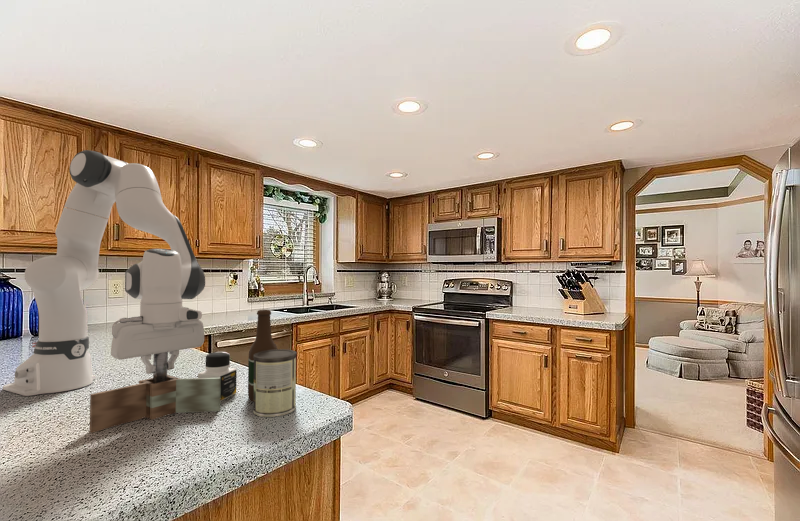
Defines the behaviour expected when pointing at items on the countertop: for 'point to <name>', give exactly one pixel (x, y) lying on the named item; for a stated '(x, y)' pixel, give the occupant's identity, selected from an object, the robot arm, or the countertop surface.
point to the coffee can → (274, 382)
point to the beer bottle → (259, 346)
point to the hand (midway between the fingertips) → (160, 371)
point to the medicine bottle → (221, 372)
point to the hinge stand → (153, 400)
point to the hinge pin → (160, 367)
